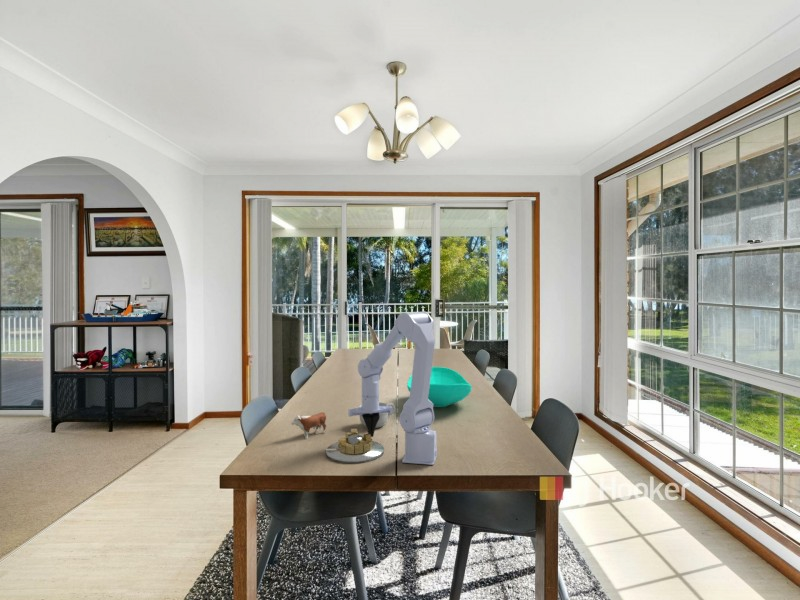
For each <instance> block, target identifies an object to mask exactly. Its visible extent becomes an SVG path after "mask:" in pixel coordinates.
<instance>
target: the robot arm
mask: <svg viewBox="0 0 800 600" xmlns="http://www.w3.org/2000/svg"><path fill="white" fill-rule="evenodd" d="M434 322H435V321H434V319H433V318H432V317H431V315H430V314H429V313H428V312H426V311H418V312H402V313H400V314H399V315H398V316H397V318H395V320H394V324H393V325H394V326H393V327H392V329H391V330H390V331H389V333H388V334H387V336H386V337H385V339H384V340H383V342H378V343H377V344H376V343H375V344H374V346H373V347H374V348H373V350H372V351H371V352H370V353H369V354H368V355H367V357H366V358H363V359H360V360H359V362H358V365H357V372H358V374H359V376H361V404H362V407H360V408H359V407H356V408H355V407H354V408H349V409H348V412H347V413H348V414H347V415H348V417H355V416H360V415H362V417H363V419H364V421H365V424H366V427H365V428H366V430H367V434H368V433H369V434H371V438H372V437H374V435H375V430H376V428H375V427H376V424H377V422H378V420H379V418H380V415H379V414H381V413H393V414H394V412H393V408H392V406H379V402H380V379H381V375H382V373H383V371H384V367H383V366H384V365H385V364H386V363H387V361H388V360H389V359H390V358H391V357H392V355H393V351H392V350H393V349H394V347H395V346H396V345H398V344H399V342H400V341H401V340H402V339H403V338H406V339H407V340H409V342H411V343H412V344H413V345H414V354H413V355H414V356H413V362H412V363H413V365H412V372H411V375H412V380H411V389H410V392H409V398H407V400H406V401H405V402H404V404H403V405H402V410H401V412H400V414H399V424H400V427H401V429H403V432H404V442H405V443H404V444H405V445H404V446H405V448H404V452H405V453H404V456H403V458H402V460H401V463H404V464H415V465H416V464H418V465H430V466H432V465H433V466H434V464H435V462H436V459H437V456H438V450H437V448H438V447H437V444H438V443H437V442H438V441H437V438H438V437H437V431H436V430H432V429H431V425H433V423H434V421H435V411H434V407H433V403H432V402H431V401H430V400H429V399H428V395H429V387H430V378H431V370H432V367H433V360H434V352H435V344H436V341H435V336H434V331H433V329H434Z"/></svg>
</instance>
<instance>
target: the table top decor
mask: <svg viewBox="0 0 800 600" xmlns="http://www.w3.org/2000/svg"><path fill="white" fill-rule="evenodd" d="M411 380H412V374H411V375H410V376H409V378H408V381H407V383H406V384H407V391H409V393H410V389H411ZM472 389H473V386H472V385H471V383H470V382H469V381H468V380H466V379H465V377H464V376H463V375H462V374H460V373H459V372H457V371H456V370H454V369H451V368H450V367H443V366H432V370H431V378H430V387H429V395H428V399H429V400H430V401H431V402H432V403H433V408H446V407H448V406H450V405H451V406H452V405H453V404H457V403H458V402H460V401H463V400H464V399H466V398H467V397H468V396H469V395H470V393H471V392H472Z"/></svg>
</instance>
